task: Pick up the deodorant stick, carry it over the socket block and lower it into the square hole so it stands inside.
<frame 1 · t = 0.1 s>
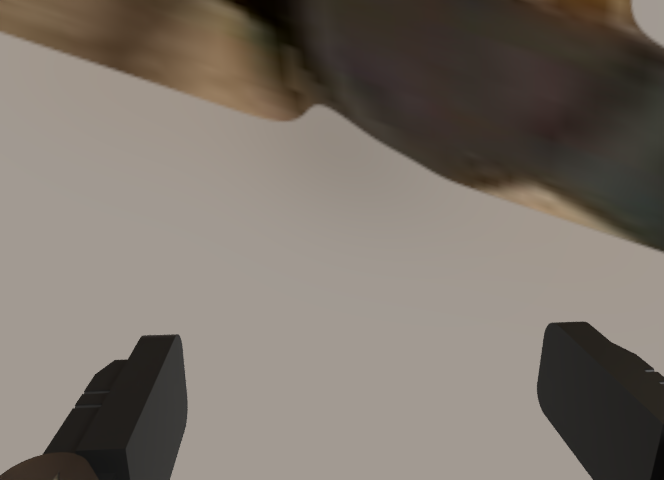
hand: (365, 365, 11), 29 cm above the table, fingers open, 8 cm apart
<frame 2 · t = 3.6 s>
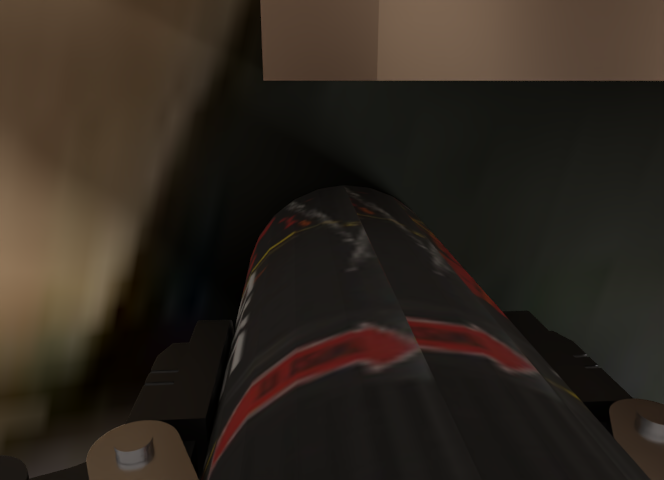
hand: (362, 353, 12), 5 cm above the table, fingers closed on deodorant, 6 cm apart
deodorant: (343, 275, 16), on the table, touching gripper
when the fingers open (7 cm above the table, at t = 9.6 s): deodorant drops 2 cm, resting in socket block.
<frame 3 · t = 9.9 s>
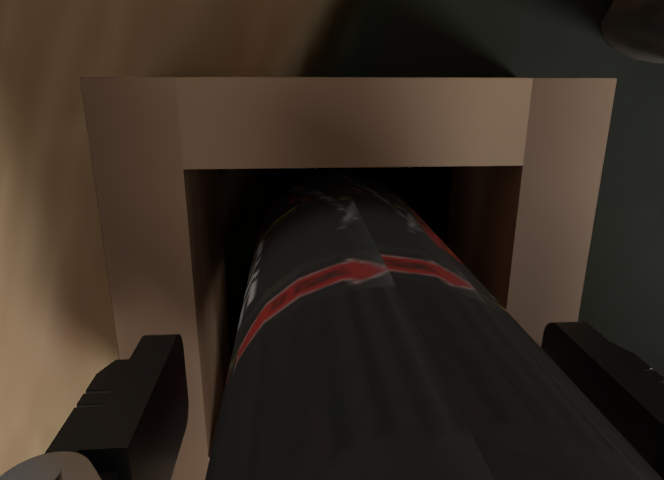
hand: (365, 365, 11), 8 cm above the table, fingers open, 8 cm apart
deodorant: (338, 250, 19), resting in socket block
socket block: (336, 252, 19), on the table
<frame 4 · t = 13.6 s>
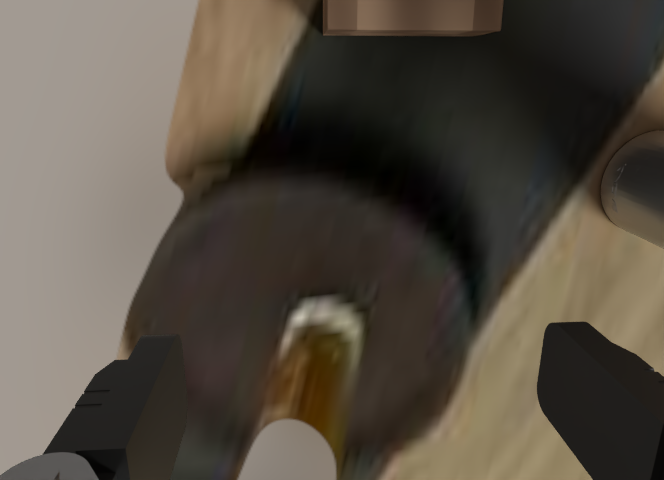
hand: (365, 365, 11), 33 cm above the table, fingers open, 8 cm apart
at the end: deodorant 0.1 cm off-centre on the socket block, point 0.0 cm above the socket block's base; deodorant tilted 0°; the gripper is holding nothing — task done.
